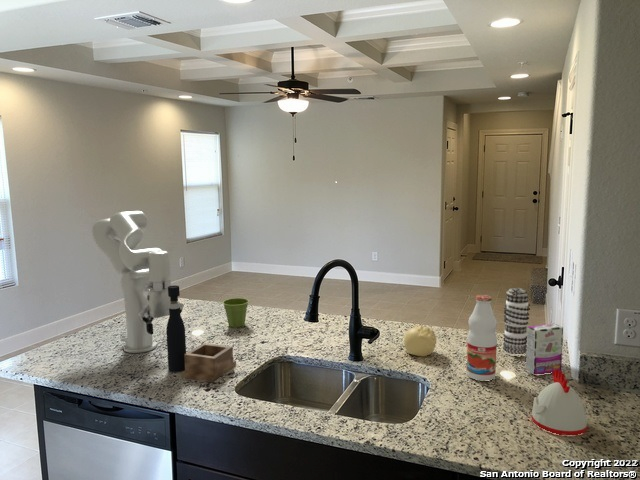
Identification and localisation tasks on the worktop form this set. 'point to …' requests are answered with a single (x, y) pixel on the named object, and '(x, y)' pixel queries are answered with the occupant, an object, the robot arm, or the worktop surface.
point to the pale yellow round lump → (420, 341)
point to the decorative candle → (516, 321)
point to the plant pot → (236, 311)
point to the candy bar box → (544, 348)
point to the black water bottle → (175, 333)
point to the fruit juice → (482, 341)
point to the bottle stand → (208, 362)
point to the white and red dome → (559, 408)
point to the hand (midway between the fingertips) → (162, 330)
